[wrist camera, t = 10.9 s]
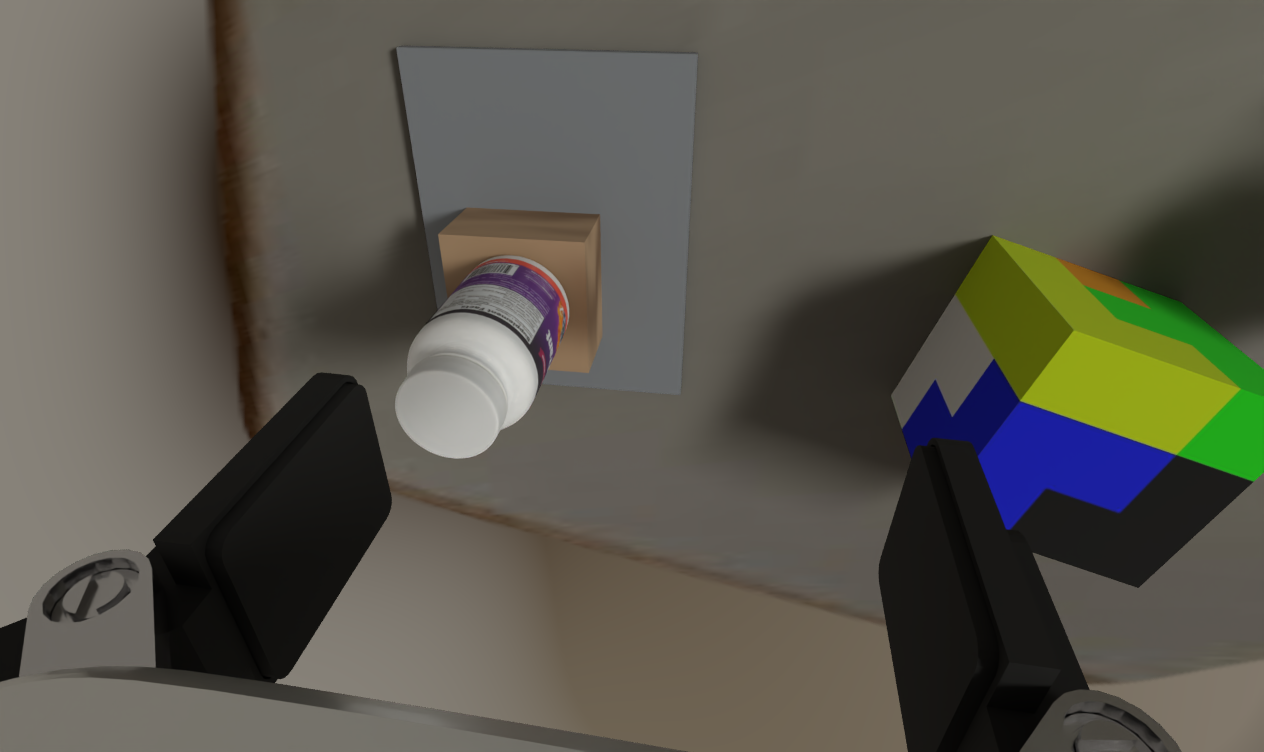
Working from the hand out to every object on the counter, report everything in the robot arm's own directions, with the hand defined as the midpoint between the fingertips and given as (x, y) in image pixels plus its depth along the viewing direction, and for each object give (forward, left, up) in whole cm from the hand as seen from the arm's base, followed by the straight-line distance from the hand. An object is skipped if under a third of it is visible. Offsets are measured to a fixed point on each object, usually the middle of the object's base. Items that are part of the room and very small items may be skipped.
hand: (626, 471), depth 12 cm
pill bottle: (+7, -8, -21) cm, 23 cm away
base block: (+7, -8, -25) cm, 27 cm away
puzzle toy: (+10, +18, -25) cm, 33 cm away
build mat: (+5, -7, -25) cm, 27 cm away
